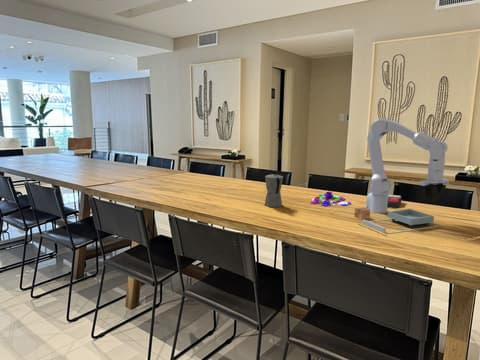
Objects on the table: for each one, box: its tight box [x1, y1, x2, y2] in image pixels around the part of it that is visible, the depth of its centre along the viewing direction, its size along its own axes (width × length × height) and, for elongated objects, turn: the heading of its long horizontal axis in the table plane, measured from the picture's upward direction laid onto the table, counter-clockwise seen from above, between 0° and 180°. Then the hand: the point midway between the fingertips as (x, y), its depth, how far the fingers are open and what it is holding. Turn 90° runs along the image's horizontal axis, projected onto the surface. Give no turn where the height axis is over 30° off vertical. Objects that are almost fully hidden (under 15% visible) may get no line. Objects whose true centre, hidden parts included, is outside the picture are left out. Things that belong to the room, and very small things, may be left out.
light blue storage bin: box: [387, 208, 435, 229], centre depth 144 cm, size 12×12×4 cm
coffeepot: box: [264, 170, 284, 208], centre depth 174 cm, size 15×9×18 cm, turn 10°
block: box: [354, 206, 371, 220], centre depth 152 cm, size 4×4×5 cm
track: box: [357, 218, 438, 237], centre depth 142 cm, size 16×28×3 cm, turn 111°
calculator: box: [387, 194, 402, 209], centre depth 180 cm, size 11×4×15 cm
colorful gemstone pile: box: [310, 190, 352, 207], centre depth 185 cm, size 25×20×4 cm
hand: (432, 201), depth 147 cm, fingers open, 3 cm apart
